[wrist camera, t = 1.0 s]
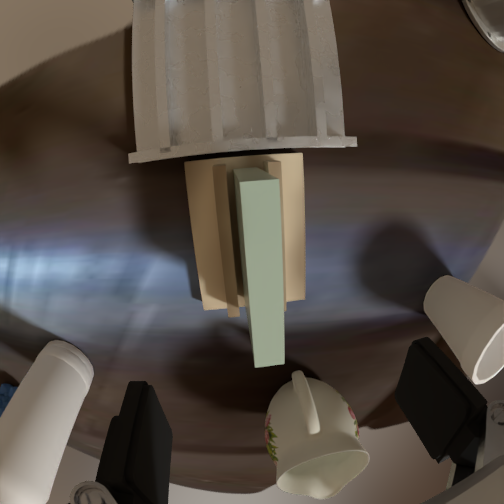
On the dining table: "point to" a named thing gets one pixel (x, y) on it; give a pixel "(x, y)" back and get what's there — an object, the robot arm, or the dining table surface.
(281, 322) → the sage green plank
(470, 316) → the foam cup
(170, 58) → the rack
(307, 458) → the pitcher
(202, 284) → the stand
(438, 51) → the dining table surface
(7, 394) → the grapes
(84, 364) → the bottle
